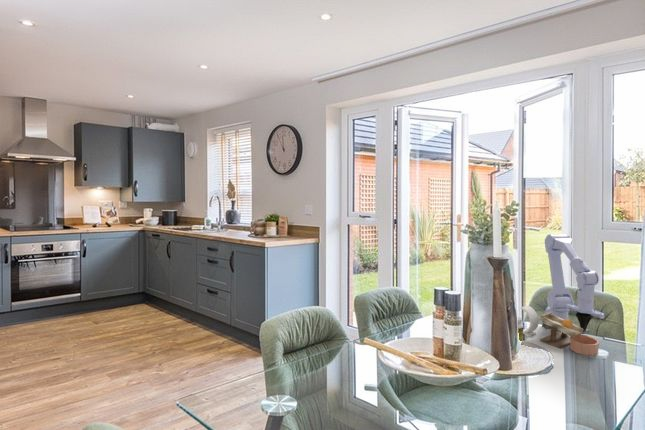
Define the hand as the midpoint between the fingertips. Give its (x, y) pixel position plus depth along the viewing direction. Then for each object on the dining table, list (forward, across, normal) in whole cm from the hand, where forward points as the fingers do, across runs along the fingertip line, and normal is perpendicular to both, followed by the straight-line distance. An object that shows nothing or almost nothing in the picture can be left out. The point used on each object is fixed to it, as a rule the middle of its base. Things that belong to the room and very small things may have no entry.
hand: (583, 329), depth 189 cm
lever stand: (+6, -7, -6) cm, 11 cm away
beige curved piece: (+2, -7, -3) cm, 8 cm away
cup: (+6, +3, -6) cm, 9 cm away
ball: (-3, -4, -6) cm, 8 cm away
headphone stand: (+6, -19, -9) cm, 22 cm away
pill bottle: (+6, -17, -23) cm, 29 cm away
